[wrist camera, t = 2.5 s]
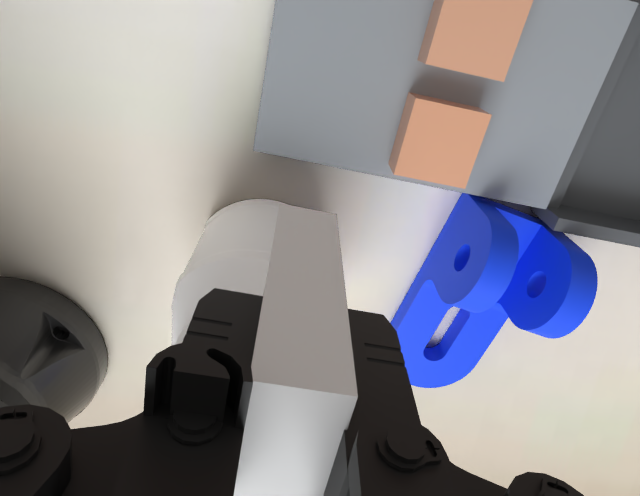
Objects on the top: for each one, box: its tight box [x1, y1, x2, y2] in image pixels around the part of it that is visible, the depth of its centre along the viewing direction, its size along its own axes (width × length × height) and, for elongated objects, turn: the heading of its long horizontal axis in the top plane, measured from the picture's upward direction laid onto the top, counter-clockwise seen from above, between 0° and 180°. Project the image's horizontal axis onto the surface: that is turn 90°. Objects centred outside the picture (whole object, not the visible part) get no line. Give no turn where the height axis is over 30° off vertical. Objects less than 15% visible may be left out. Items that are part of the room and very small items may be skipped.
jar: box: [172, 199, 288, 345], centre depth 33 cm, size 12×10×15 cm
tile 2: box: [417, 0, 533, 82], centre depth 29 cm, size 5×5×2 cm
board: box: [253, 0, 639, 209], centre depth 32 cm, size 22×14×2 cm, turn 78°
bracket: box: [390, 193, 597, 388], centre depth 38 cm, size 18×8×9 cm, turn 159°
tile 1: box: [388, 92, 492, 189], centre depth 32 cm, size 5×5×2 cm
